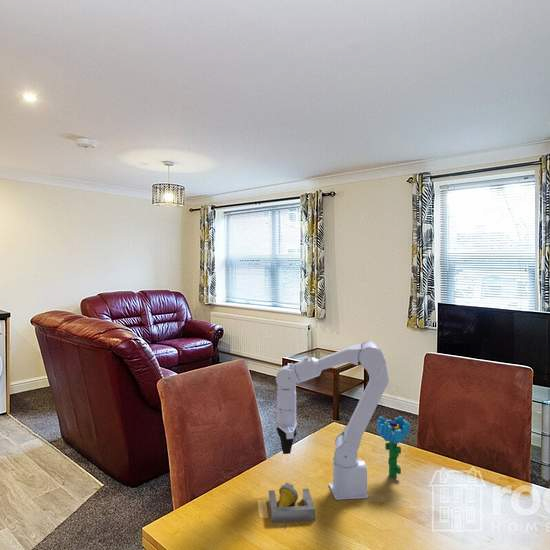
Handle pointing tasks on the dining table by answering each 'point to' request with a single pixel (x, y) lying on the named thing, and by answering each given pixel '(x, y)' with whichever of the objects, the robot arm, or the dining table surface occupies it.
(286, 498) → the grooved yellow cone
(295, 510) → the bracket
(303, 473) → the dining table surface
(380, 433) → the toy flower
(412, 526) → the dining table surface
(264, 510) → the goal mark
